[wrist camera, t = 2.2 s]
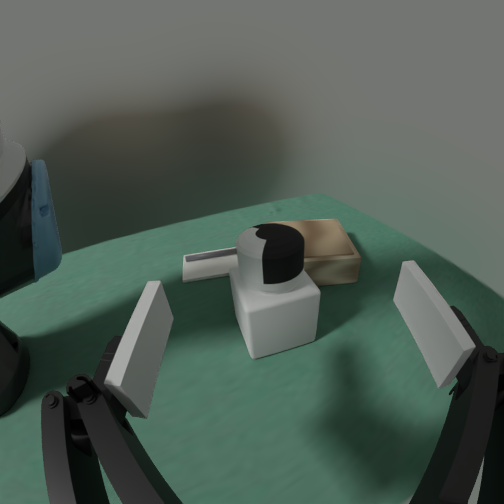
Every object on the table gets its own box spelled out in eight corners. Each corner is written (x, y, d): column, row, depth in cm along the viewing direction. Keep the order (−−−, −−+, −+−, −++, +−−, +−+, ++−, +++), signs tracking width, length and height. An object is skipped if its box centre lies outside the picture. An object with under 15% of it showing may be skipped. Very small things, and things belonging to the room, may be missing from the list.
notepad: (184, 285, 39) (181, 275, 38) (184, 260, 45) (182, 250, 44) (251, 274, 40) (250, 263, 39) (244, 251, 46) (242, 241, 45)
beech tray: (270, 289, 36) (269, 262, 34) (265, 244, 46) (264, 221, 44) (357, 282, 35) (361, 255, 33) (335, 239, 46) (337, 217, 44)
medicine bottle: (291, 301, 34) (291, 211, 27) (316, 341, 28) (326, 243, 21) (235, 316, 32) (221, 224, 26) (252, 361, 26) (239, 263, 20)
